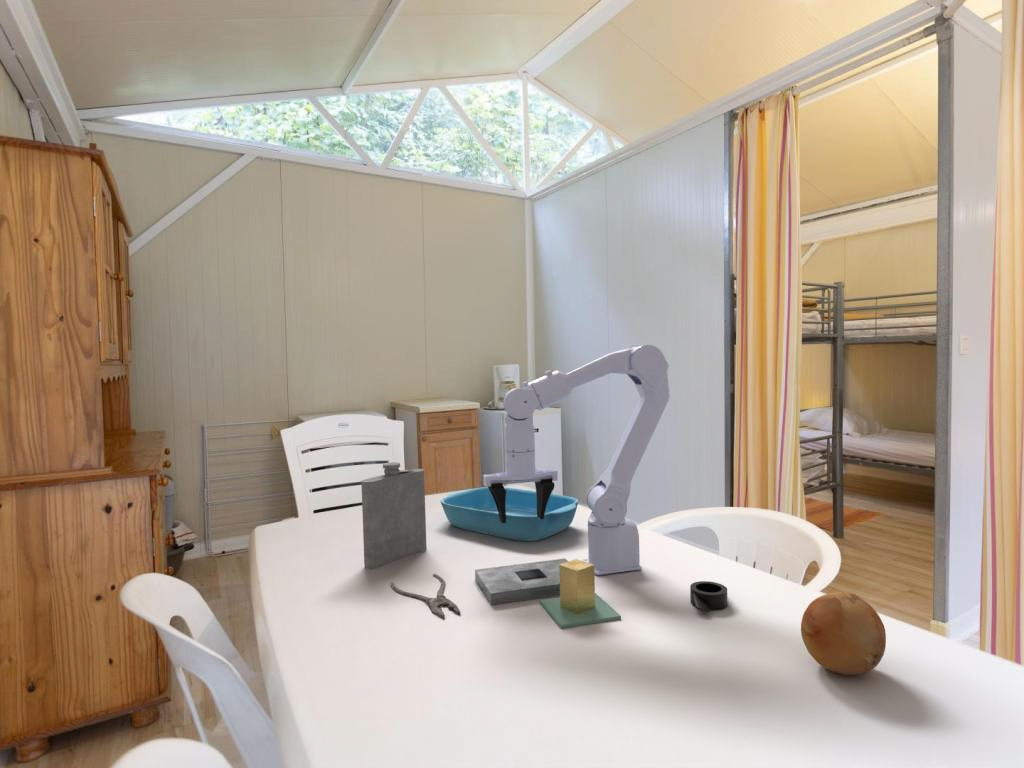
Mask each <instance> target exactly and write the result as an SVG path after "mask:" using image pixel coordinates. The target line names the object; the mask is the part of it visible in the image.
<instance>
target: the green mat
mask: <svg viewBox="0 0 1024 768" xmlns="http://www.w3.org/2000/svg"><path fill="white" fill-rule="evenodd" d="M539 604H540V605H541V606H542V607H543V609H545V611H546V612H547V613H548V615H549V616H550V617H551V618H552V619H553V620H554V622H555V623H556V625H558V626H559V628H560V629H566V628H572V627H578V626H585V625H592V624H596V623H597V624H598V623H604V622H605V623H606V622H610V621H616V620H621V619H622V615H621V614H620V613H619V612H618V611H616V610H615V609H614V608H613V607H611V605H610V604H608V603H607V602H606V601H605V600H603V598H602V597H601V596H599V595H598V593H596V592H595V608H592V609H590V610H588V611H585V612H583V613H580V614H576V613H573V612H571V611H569V610H566V609H564V608H562V607H560V596H559V597H552V598H546V599H545V598H544V599H540V600H539Z"/></svg>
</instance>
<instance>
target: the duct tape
mask: <svg viewBox="0 0 1024 768" xmlns="http://www.w3.org/2000/svg"><path fill="white" fill-rule="evenodd" d="M689 589H690V591H689V592H690V600H689V602H690V604H691V605H692V606H693V607H695V608H696V609H699V610H702V611H705V612H708V613H710V611H711V612H712V611H713V612H716V611H722V610H725V609H726V608H727V607H728V588H727V586H725V585H724V584H722V583H718V582H714V581H708V580H707V581H706V580H702V581H701V580H700V581H695V582H692V583H691V584H690V586H689Z"/></svg>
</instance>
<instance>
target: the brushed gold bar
mask: <svg viewBox="0 0 1024 768" xmlns="http://www.w3.org/2000/svg"><path fill="white" fill-rule="evenodd" d="M581 560H582V559H581ZM581 560H580V559H578V558H575V559H572V560H568V561H569V562H566V563H563V564H560V565H559V574H560V595H559V597H560V607H562V608H564V609H566V610H569V611H571V612H573V613H576V614H580V613H583V612H585V611H588V610H590V609H592V608H595V593H596V585H595V584H596V581H595V578H596V577H595V575H596V574H595V573H594V565H593V564H590V563H587V562H584V561H581Z"/></svg>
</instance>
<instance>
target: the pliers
mask: <svg viewBox="0 0 1024 768" xmlns="http://www.w3.org/2000/svg"><path fill="white" fill-rule="evenodd" d="M432 576H433V577H434V578H436V579H437V580H439V582H440V583H441V584H440V587H439V588H438V590H437V592H436V597H427V596H424V595H422V594H417V593H414V592H413V593H412V592H408V591H404V590H401V589H400V588H398V587H397V586H396V584H395V583H394V581H391V583H390V587H391V589H392V590H393V591H394V592H396V593H398V594H399V595H402V596H405V597H409V598H411V599H416V600H419V601H421V602H424V603H426V605H427V606H429V609H430V611H431V613H432V614H434V615H435V616H438V617H439V618H441V619H442V620H445V619H446V618H445V617H446V615H445V613H444V611H443V609H442V607H444V608H445V607H448V610H449V611H452V612H453V613H455V614H456V615H458V616H461V610H460V608H459V607H458V606H457V604H455V603H454V602H453V601H452V600H450V599H449V598H447V597H446V596H445V595H444V594H445V590H446V587H447V586H446V581H445V579H444V578H442V577H441V576H440V575H438V574H436V573H432Z"/></svg>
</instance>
